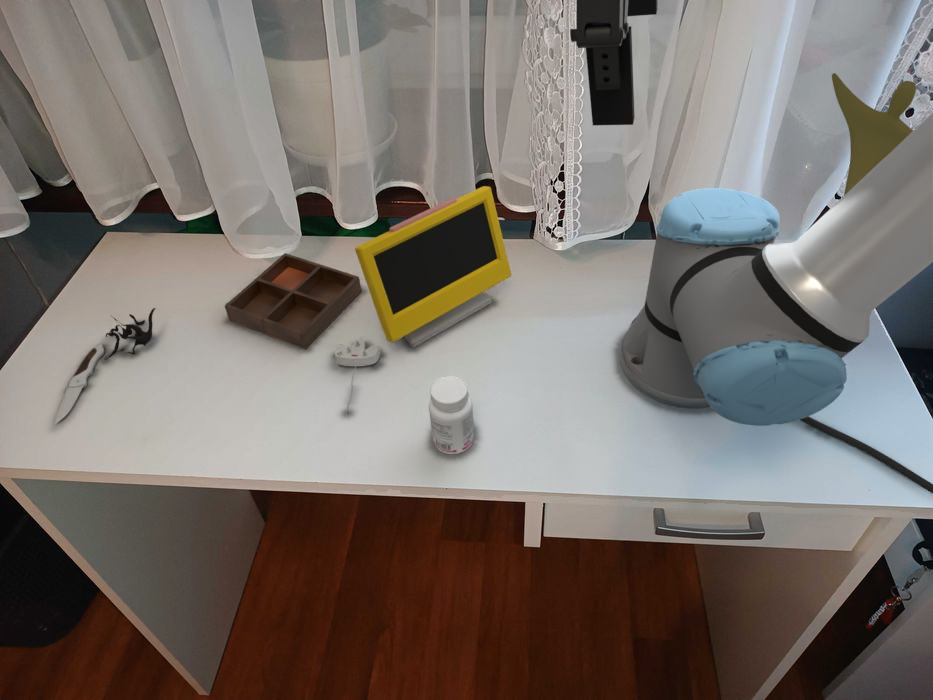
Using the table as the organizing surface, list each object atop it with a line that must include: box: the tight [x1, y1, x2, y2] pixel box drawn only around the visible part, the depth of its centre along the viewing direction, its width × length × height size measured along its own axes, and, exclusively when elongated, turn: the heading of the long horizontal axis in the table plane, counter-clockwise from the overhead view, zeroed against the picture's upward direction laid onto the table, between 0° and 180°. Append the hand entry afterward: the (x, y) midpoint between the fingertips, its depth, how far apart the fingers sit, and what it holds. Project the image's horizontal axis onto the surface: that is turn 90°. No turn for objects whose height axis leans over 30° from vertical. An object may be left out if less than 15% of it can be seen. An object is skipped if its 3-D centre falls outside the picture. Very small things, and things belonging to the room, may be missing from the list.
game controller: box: [334, 337, 382, 414], centre depth 88 cm, size 6×12×3 cm, turn 16°
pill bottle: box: [428, 375, 475, 455], centre depth 78 cm, size 5×5×8 cm
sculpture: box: [831, 72, 917, 196], centre depth 85 cm, size 11×7×30 cm, turn 57°
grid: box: [224, 252, 363, 350], centre depth 98 cm, size 13×13×3 cm
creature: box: [104, 307, 157, 361], centre depth 93 cm, size 8×5×8 cm
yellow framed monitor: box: [354, 185, 512, 349], centre depth 91 cm, size 20×8×16 cm, turn 129°
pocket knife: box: [54, 343, 105, 424], centre depth 89 cm, size 14×1×2 cm
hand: (627, 64), depth 52 cm, fingers open, 13 cm apart
